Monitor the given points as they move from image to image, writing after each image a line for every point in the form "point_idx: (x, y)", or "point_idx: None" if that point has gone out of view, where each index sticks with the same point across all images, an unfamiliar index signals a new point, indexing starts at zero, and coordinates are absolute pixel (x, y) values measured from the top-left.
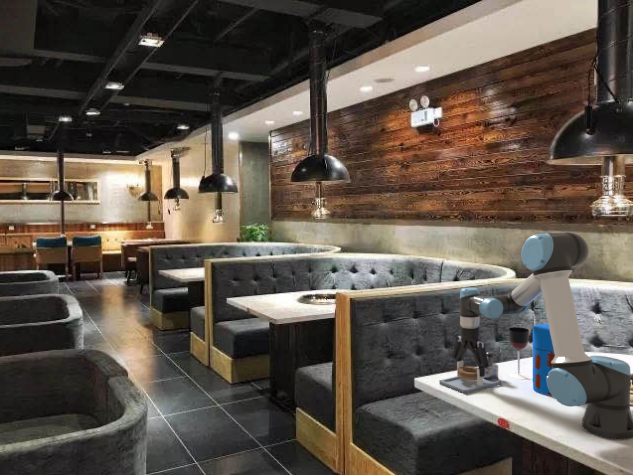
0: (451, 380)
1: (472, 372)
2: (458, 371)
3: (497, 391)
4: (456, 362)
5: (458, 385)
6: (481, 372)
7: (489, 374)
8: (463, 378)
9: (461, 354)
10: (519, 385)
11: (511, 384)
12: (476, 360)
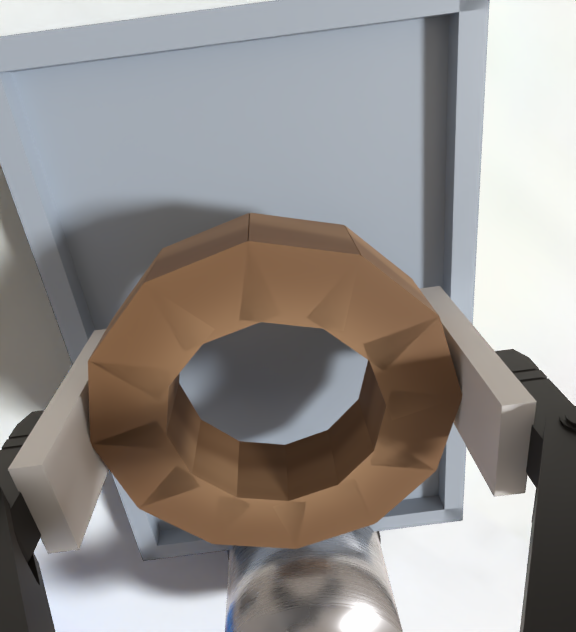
0: (438, 188)
1: (165, 388)
2: (328, 247)
3: (3, 422)
4: (561, 399)
5: (247, 149)
6: (8, 455)
7: (247, 559)
8: (211, 230)
9: (528, 569)
10: (93, 618)
11: (134, 591)
12: (4, 596)
